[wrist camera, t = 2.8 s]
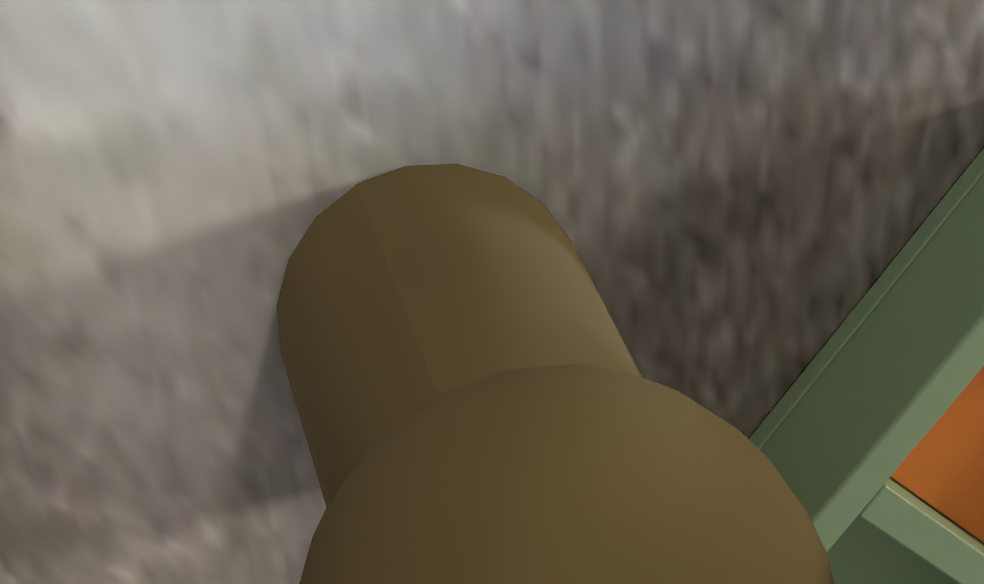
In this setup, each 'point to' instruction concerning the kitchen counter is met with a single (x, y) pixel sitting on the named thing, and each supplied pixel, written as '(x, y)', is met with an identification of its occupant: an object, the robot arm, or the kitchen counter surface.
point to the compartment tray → (899, 413)
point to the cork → (505, 410)
